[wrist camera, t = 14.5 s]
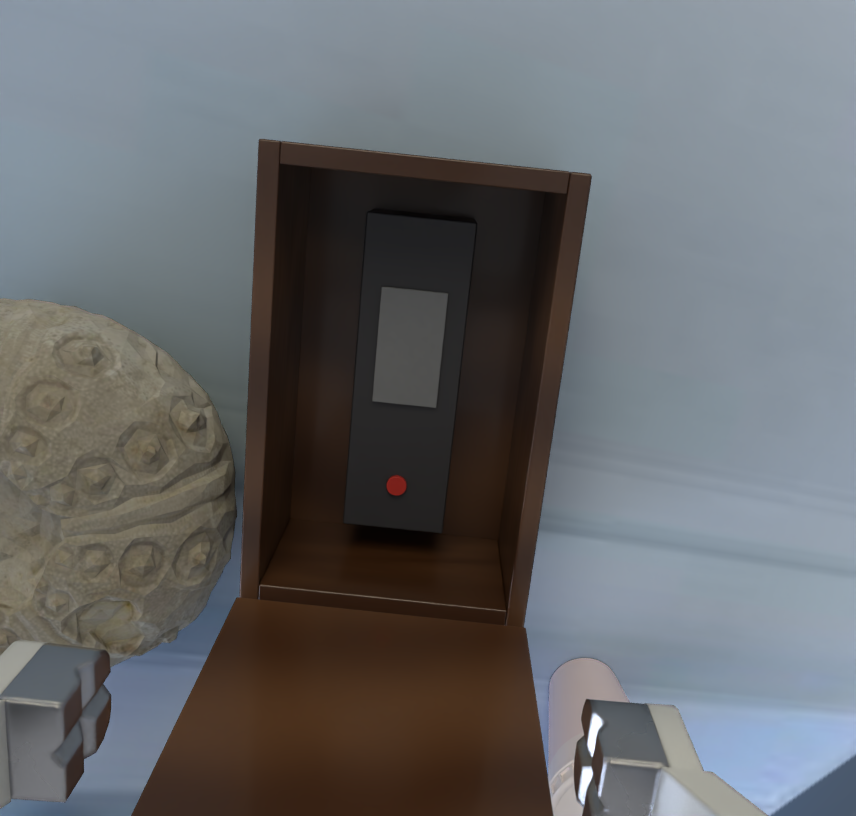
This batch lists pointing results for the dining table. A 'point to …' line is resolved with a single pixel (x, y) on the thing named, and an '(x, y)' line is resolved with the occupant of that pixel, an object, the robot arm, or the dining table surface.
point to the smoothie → (573, 723)
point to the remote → (407, 368)
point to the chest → (334, 375)
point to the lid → (355, 720)
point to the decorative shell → (105, 485)
